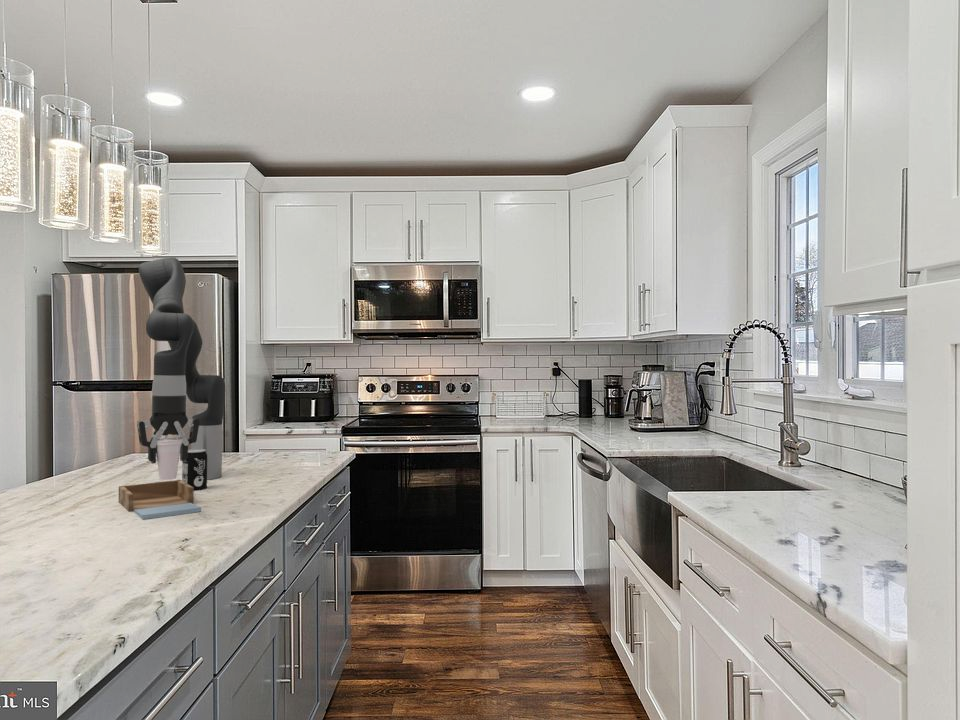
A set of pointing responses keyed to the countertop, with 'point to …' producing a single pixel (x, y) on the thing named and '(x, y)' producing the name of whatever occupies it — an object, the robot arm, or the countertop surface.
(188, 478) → the beverage can
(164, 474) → the smoothie
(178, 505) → the flat blue panel
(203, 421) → the robot arm
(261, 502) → the countertop surface
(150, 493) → the tray
